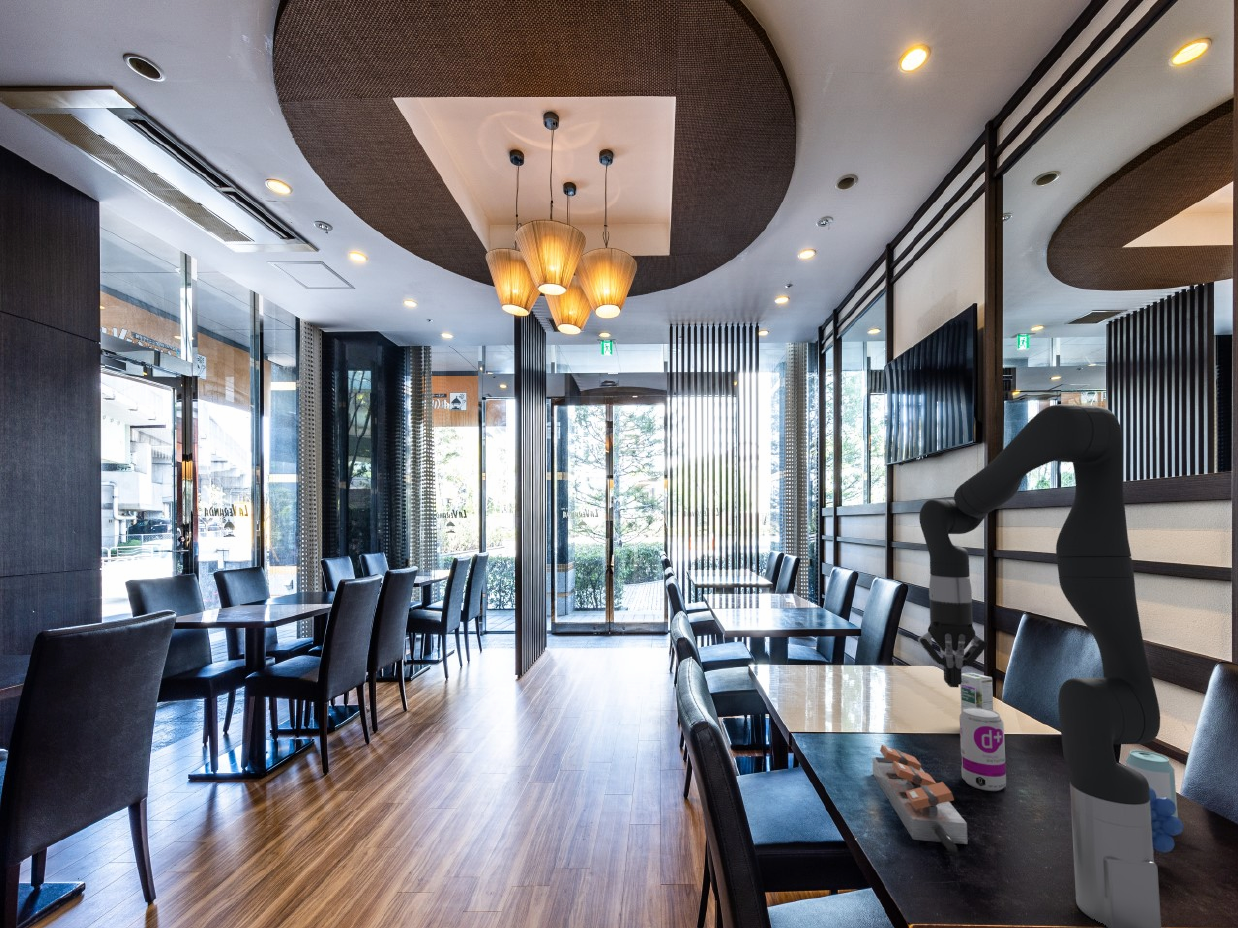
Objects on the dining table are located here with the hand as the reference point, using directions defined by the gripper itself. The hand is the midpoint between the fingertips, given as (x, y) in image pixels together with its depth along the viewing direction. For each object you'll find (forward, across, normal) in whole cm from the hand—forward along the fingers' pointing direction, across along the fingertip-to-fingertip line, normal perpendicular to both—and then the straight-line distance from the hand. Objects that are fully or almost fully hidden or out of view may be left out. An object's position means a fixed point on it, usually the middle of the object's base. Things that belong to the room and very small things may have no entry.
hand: (953, 686), depth 122 cm
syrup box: (+24, +22, +50) cm, 60 cm away
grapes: (+24, +24, -12) cm, 36 cm away
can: (+24, +35, +2) cm, 42 cm away
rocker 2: (+18, -8, 0) cm, 19 cm away
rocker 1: (+18, -8, +9) cm, 22 cm away
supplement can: (+24, +10, +13) cm, 29 cm away
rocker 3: (+18, -8, -9) cm, 21 cm away
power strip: (+23, -8, -3) cm, 25 cm away
